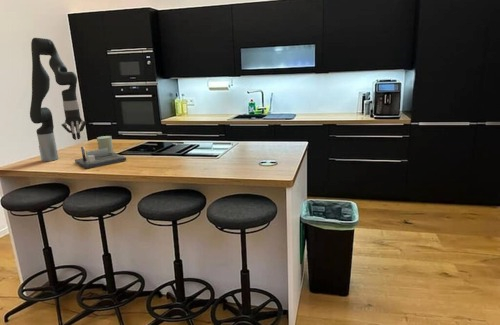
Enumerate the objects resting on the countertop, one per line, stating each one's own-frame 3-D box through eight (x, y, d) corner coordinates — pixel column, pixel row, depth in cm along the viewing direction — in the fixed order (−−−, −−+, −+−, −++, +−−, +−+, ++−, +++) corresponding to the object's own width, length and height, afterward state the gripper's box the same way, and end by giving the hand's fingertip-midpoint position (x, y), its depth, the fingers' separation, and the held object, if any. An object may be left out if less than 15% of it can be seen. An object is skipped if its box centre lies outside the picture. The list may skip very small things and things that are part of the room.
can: (107, 151, 244) (105, 134, 241) (116, 153, 239) (114, 135, 236) (96, 155, 236) (93, 137, 233) (105, 156, 232) (102, 138, 228)
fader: (90, 163, 207) (89, 156, 206) (88, 162, 210) (86, 155, 209) (95, 162, 209) (94, 155, 208) (93, 161, 212) (92, 154, 210)
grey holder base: (86, 169, 203) (83, 152, 201) (75, 162, 218) (72, 147, 215) (126, 160, 218) (124, 144, 216) (114, 155, 233) (111, 140, 230)
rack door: (87, 159, 216) (86, 152, 215) (86, 158, 218) (85, 151, 217) (108, 155, 225) (107, 148, 223) (107, 154, 226) (106, 147, 225)
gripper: (82, 107, 204) (87, 136, 209) (56, 109, 195) (62, 140, 200) (86, 108, 198) (91, 138, 203) (60, 110, 190) (65, 142, 194)
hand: (76, 139), depth 201 cm, fingers closed
